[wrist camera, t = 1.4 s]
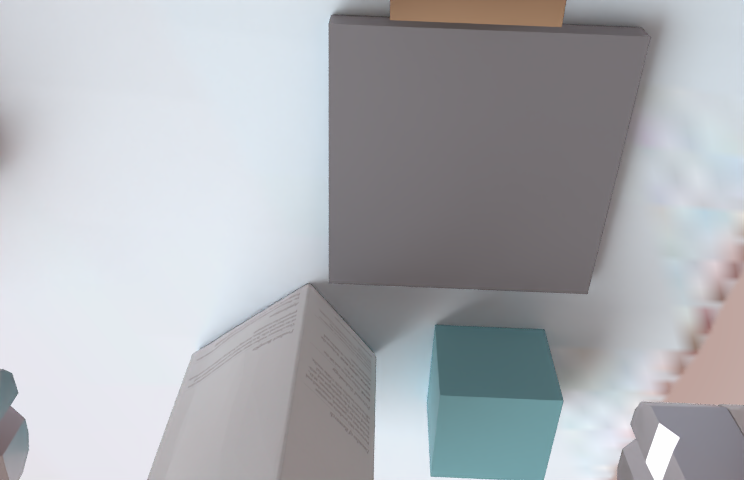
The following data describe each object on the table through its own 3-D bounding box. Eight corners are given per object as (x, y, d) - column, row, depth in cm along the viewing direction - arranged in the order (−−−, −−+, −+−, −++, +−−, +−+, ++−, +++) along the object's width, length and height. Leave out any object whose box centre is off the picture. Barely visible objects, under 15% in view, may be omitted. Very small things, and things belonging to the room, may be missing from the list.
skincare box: (262, 414, 40) (201, 704, 27) (186, 346, 37) (80, 633, 25) (384, 349, 37) (379, 641, 24) (312, 271, 34) (264, 552, 22)
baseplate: (331, 14, 28) (328, 23, 27) (641, 27, 28) (650, 36, 27) (331, 268, 34) (328, 283, 33) (581, 278, 34) (587, 294, 33)
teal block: (434, 323, 36) (440, 395, 32) (544, 328, 36) (563, 400, 32) (426, 401, 39) (430, 476, 35) (527, 405, 39) (543, 481, 35)
